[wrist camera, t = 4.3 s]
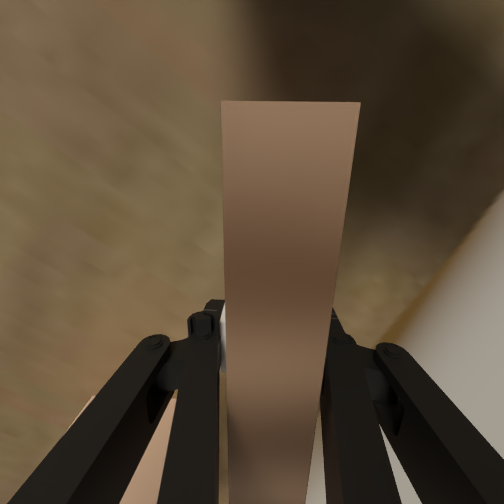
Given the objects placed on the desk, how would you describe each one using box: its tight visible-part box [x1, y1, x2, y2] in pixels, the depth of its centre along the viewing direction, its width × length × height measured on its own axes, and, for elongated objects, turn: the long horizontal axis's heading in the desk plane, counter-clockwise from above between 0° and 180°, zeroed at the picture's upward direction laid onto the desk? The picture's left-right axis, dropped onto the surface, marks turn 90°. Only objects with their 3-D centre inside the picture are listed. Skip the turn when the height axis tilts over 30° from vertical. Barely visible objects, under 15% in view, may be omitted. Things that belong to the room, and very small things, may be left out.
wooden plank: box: [221, 101, 361, 504], centre depth 13 cm, size 18×3×10 cm, turn 179°
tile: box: [65, 396, 176, 504], centre depth 23 cm, size 2×12×10 cm, turn 89°
